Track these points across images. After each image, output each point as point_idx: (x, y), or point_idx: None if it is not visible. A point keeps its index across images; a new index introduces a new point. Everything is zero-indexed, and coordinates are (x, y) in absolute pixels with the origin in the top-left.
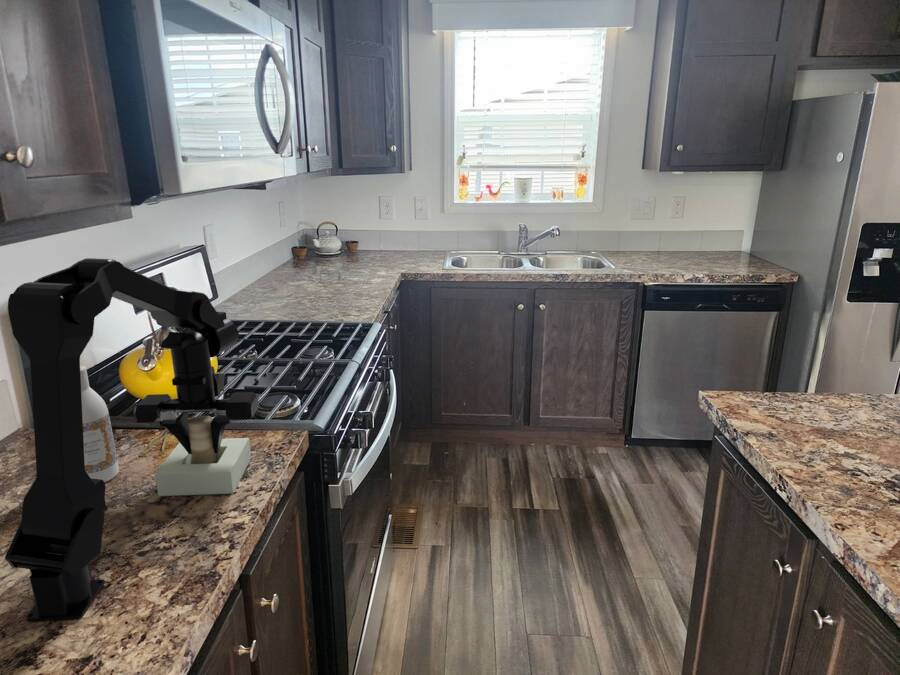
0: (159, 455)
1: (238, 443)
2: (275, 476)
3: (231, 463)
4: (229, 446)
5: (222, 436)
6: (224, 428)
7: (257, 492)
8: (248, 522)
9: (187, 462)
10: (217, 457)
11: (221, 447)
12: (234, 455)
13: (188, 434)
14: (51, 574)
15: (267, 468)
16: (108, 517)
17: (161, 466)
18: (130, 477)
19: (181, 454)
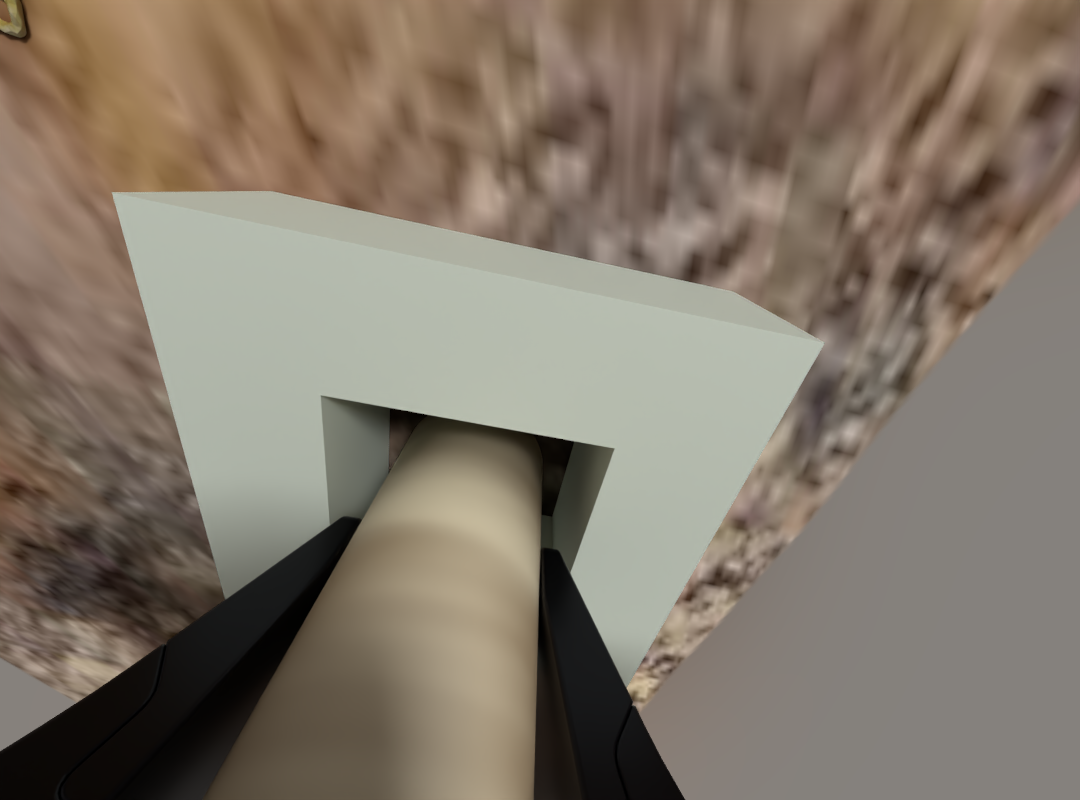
0: (10, 30)
1: (707, 423)
2: (801, 514)
3: (632, 637)
4: (630, 455)
5: (609, 658)
6: (658, 764)
7: (698, 593)
8: (647, 697)
9: (352, 477)
10: (541, 509)
11: (564, 432)
12: (656, 573)
13: (246, 703)
14: None
15: (789, 440)
16: (193, 602)
17: (223, 583)
18: (48, 346)
19: (279, 485)
